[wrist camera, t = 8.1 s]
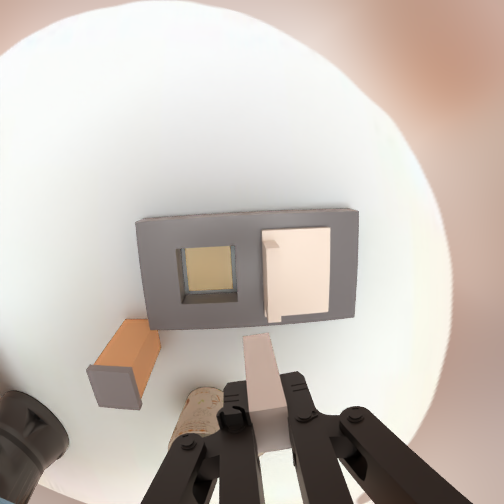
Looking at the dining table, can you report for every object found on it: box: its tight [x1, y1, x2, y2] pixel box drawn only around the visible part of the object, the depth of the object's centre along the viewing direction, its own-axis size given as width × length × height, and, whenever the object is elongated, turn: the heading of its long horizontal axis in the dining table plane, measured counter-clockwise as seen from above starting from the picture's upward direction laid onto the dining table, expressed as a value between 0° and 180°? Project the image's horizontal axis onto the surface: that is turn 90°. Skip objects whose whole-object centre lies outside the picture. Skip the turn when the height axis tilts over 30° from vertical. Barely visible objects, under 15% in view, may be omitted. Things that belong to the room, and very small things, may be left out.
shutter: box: [261, 227, 330, 323], centre depth 30 cm, size 7×9×4 cm
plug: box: [86, 319, 161, 410], centre depth 30 cm, size 4×4×12 cm
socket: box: [135, 209, 359, 330], centre depth 34 cm, size 23×12×3 cm, turn 92°
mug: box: [168, 387, 265, 456], centre depth 34 cm, size 8×13×10 cm, turn 70°
